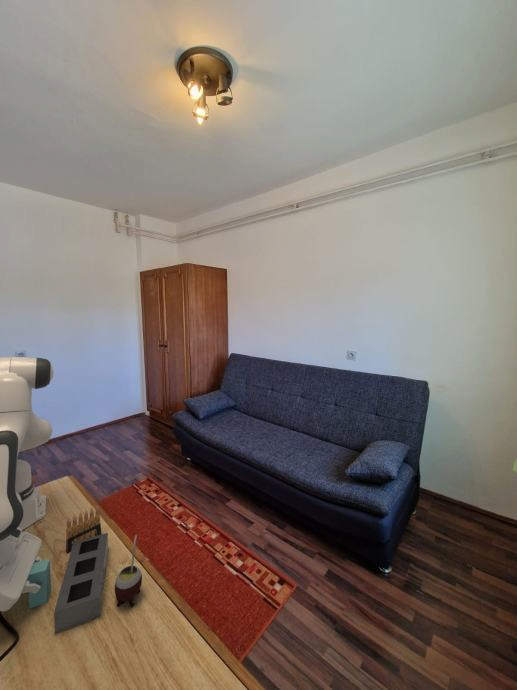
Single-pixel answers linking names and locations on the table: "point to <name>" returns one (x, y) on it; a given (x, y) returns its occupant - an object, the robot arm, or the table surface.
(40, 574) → the square peg
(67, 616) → the block with square holes
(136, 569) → the mate gourd
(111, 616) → the table surface
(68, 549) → the ammunition clip
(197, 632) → the table surface
